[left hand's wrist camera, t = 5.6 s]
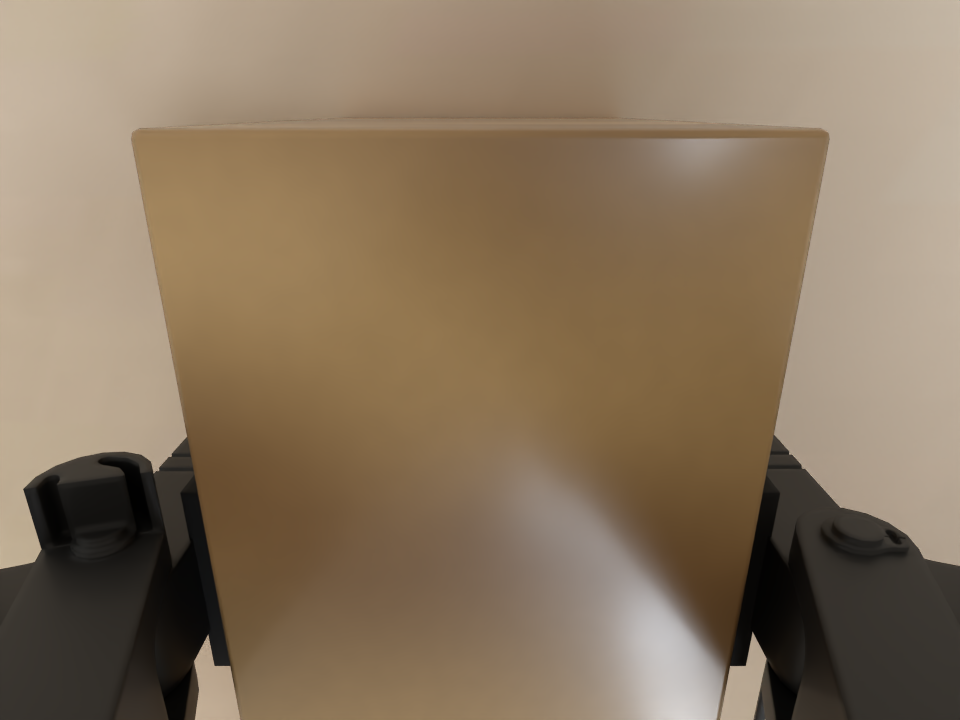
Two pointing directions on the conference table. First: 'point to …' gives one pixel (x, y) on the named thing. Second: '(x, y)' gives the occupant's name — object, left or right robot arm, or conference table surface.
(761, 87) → the conference table surface
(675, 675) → the post
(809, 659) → the left robot arm
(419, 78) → the conference table surface
